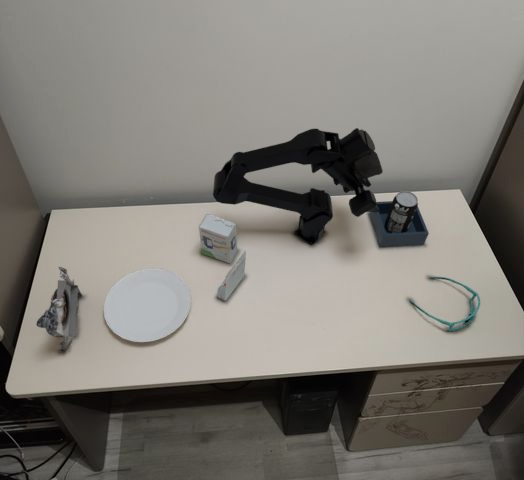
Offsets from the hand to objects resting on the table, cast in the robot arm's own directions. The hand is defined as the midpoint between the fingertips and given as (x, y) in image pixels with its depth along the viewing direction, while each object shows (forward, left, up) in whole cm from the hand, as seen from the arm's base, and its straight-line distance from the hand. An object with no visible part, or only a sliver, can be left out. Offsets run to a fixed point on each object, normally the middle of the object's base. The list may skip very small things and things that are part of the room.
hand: (373, 198), depth 128 cm
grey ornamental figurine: (-37, -73, -14) cm, 83 cm away
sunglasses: (+29, -7, -14) cm, 33 cm away
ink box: (-25, -33, -14) cm, 44 cm away
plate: (-26, -57, -14) cm, 64 cm away
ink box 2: (-15, -39, -14) cm, 44 cm away
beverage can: (+6, +7, -13) cm, 16 cm away
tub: (+6, +7, -14) cm, 17 cm away
